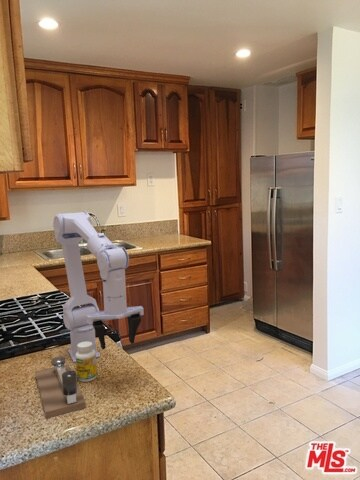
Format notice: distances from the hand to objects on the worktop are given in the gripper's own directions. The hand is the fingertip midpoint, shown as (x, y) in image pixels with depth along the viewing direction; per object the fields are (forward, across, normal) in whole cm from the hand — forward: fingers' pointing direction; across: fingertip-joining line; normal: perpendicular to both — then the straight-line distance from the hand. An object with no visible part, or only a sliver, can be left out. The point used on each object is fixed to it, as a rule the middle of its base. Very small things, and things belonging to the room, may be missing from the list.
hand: (117, 345), depth 102 cm
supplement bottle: (+11, -7, +7) cm, 14 cm away
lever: (+9, -14, +3) cm, 16 cm away
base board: (+10, -15, +3) cm, 19 cm away
